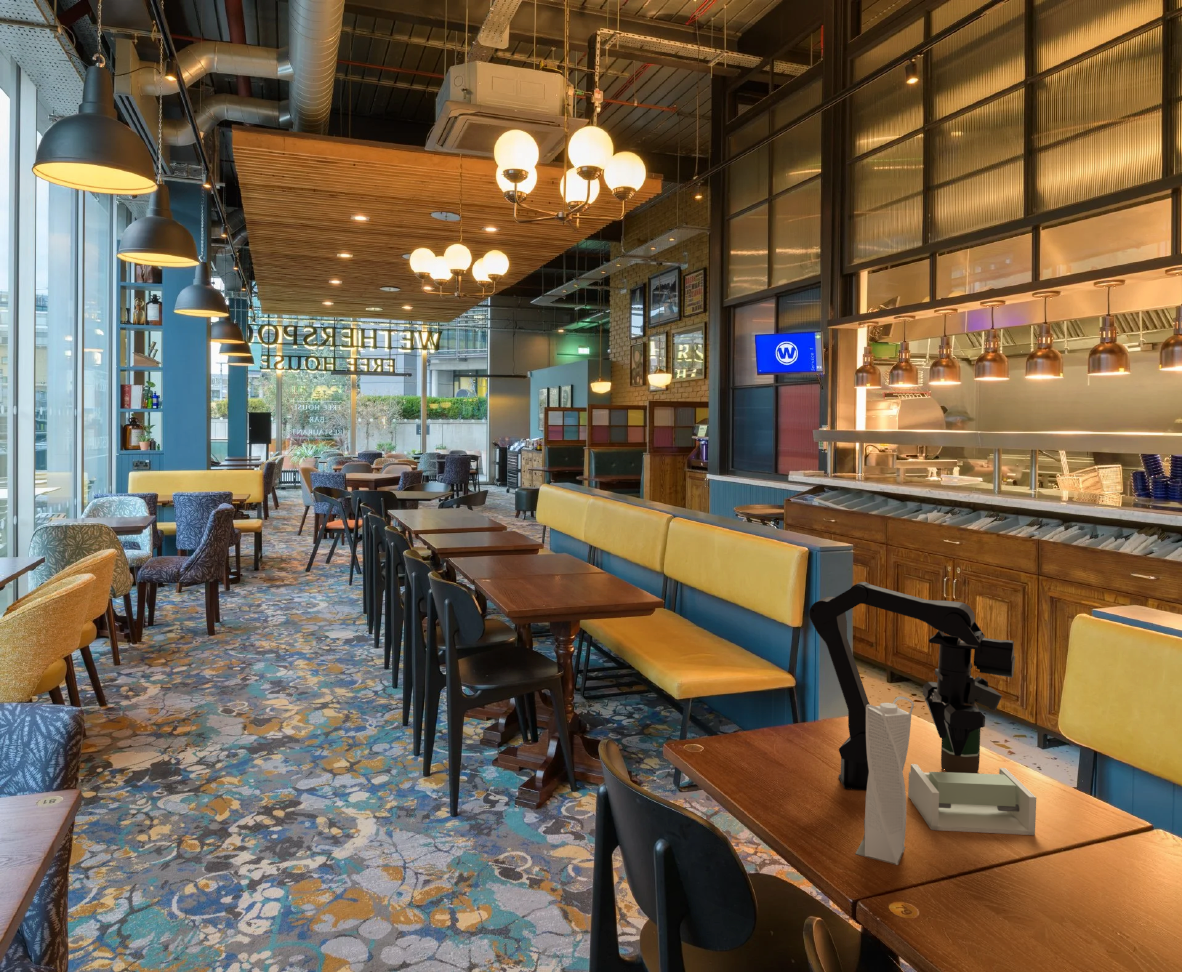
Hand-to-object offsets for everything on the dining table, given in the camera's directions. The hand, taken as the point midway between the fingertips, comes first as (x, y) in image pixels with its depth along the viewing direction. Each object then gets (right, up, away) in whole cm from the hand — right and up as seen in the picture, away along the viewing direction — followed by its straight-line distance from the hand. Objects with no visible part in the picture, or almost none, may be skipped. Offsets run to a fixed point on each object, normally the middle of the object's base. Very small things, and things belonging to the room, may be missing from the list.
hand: (949, 746), depth 159 cm
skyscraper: (-20, -13, -19) cm, 30 cm away
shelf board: (+2, -8, -5) cm, 10 cm away
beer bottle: (+10, -11, +18) cm, 23 cm away
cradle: (+2, -12, -5) cm, 13 cm away
